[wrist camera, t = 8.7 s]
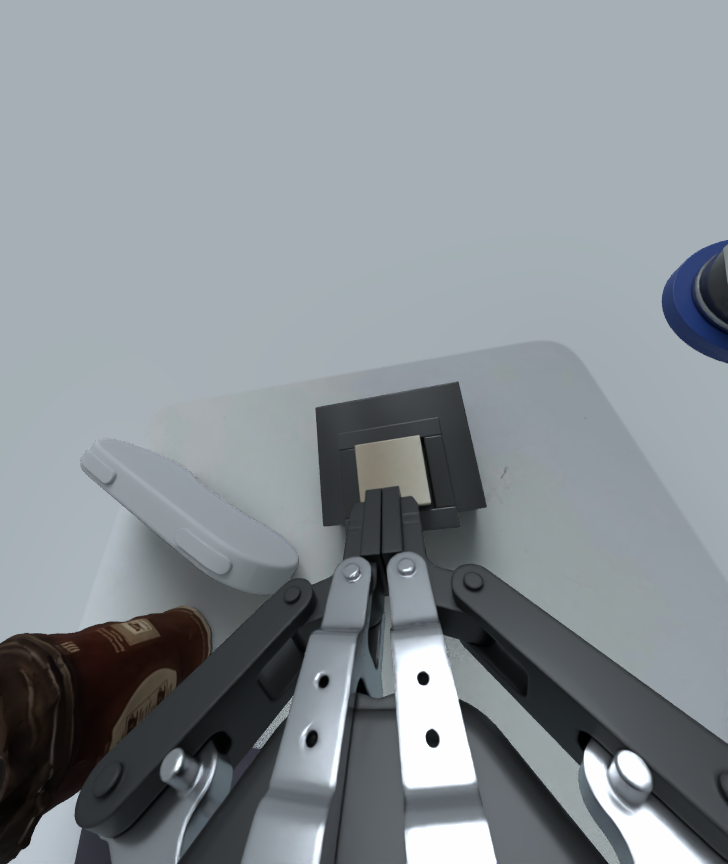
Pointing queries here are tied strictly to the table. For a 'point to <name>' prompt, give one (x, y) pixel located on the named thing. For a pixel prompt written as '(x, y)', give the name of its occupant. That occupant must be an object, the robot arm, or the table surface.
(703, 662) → the table surface
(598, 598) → the table surface
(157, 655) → the coffee cup
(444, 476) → the key block
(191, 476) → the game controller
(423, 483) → the ivory key
